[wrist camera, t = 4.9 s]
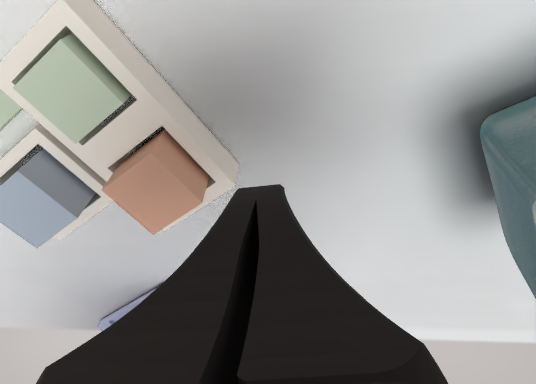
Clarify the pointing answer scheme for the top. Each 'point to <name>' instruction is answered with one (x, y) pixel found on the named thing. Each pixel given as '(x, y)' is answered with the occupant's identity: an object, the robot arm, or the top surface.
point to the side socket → (57, 149)
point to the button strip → (129, 117)
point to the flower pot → (514, 179)
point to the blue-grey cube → (42, 199)
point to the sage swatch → (7, 109)
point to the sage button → (72, 88)
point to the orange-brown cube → (158, 183)
